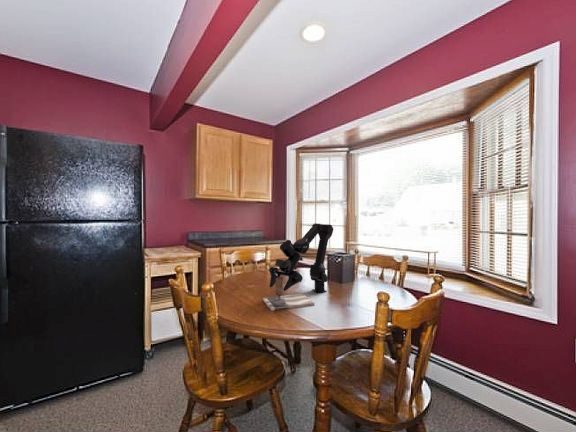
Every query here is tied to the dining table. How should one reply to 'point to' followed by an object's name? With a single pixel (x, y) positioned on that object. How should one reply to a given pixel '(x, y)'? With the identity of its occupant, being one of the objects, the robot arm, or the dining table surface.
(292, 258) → the robot arm
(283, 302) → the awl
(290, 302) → the cream and grey cloth
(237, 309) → the dining table surface
